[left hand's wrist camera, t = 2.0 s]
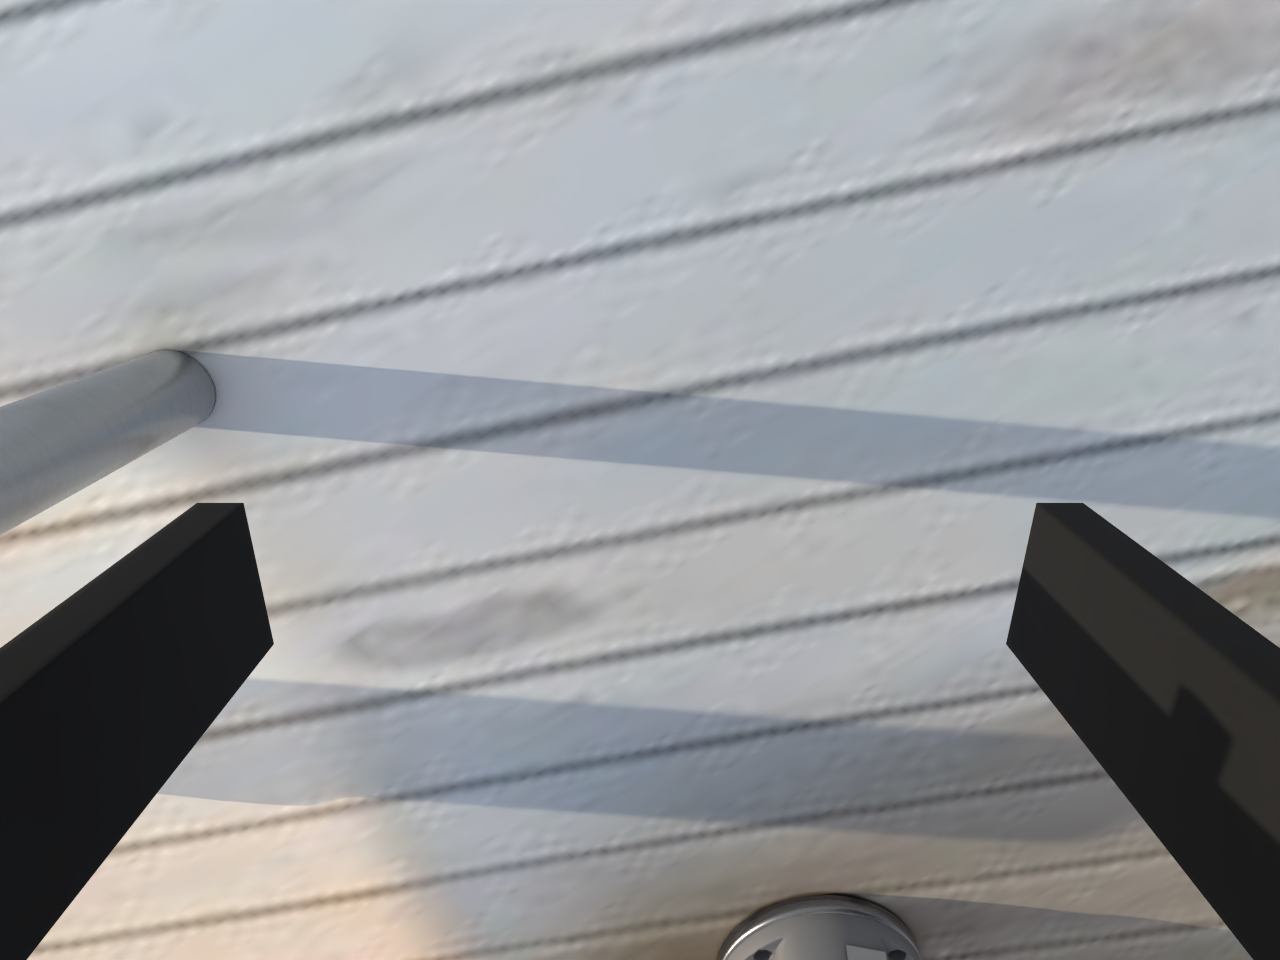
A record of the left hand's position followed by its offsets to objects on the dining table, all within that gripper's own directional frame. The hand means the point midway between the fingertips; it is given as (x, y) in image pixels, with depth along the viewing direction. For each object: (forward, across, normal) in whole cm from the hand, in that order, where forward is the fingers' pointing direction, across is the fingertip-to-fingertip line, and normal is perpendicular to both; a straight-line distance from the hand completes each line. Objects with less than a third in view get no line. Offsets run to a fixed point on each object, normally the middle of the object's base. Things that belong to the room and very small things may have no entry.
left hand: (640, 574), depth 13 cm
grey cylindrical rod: (+28, +25, +4) cm, 38 cm away
